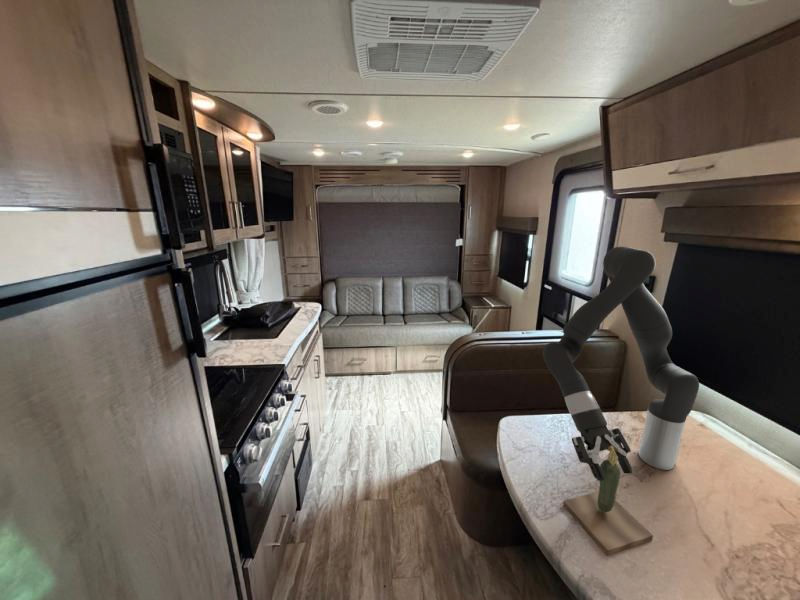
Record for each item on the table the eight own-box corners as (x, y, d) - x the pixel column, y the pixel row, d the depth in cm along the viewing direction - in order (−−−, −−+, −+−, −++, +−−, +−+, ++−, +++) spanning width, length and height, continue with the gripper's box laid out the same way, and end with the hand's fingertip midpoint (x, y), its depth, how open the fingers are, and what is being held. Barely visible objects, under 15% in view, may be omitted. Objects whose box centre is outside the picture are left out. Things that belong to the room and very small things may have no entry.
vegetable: (614, 521, 81) (627, 457, 75) (596, 518, 82) (608, 455, 76) (607, 506, 85) (619, 444, 80) (589, 503, 86) (600, 442, 80)
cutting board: (603, 493, 91) (604, 489, 90) (652, 539, 78) (653, 535, 77) (563, 505, 87) (563, 500, 87) (606, 555, 74) (607, 550, 74)
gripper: (571, 411, 81) (603, 482, 73) (615, 403, 85) (649, 470, 77) (554, 417, 88) (582, 483, 80) (595, 409, 91) (625, 471, 83)
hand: (615, 476), depth 78 cm, fingers open, 8 cm apart
